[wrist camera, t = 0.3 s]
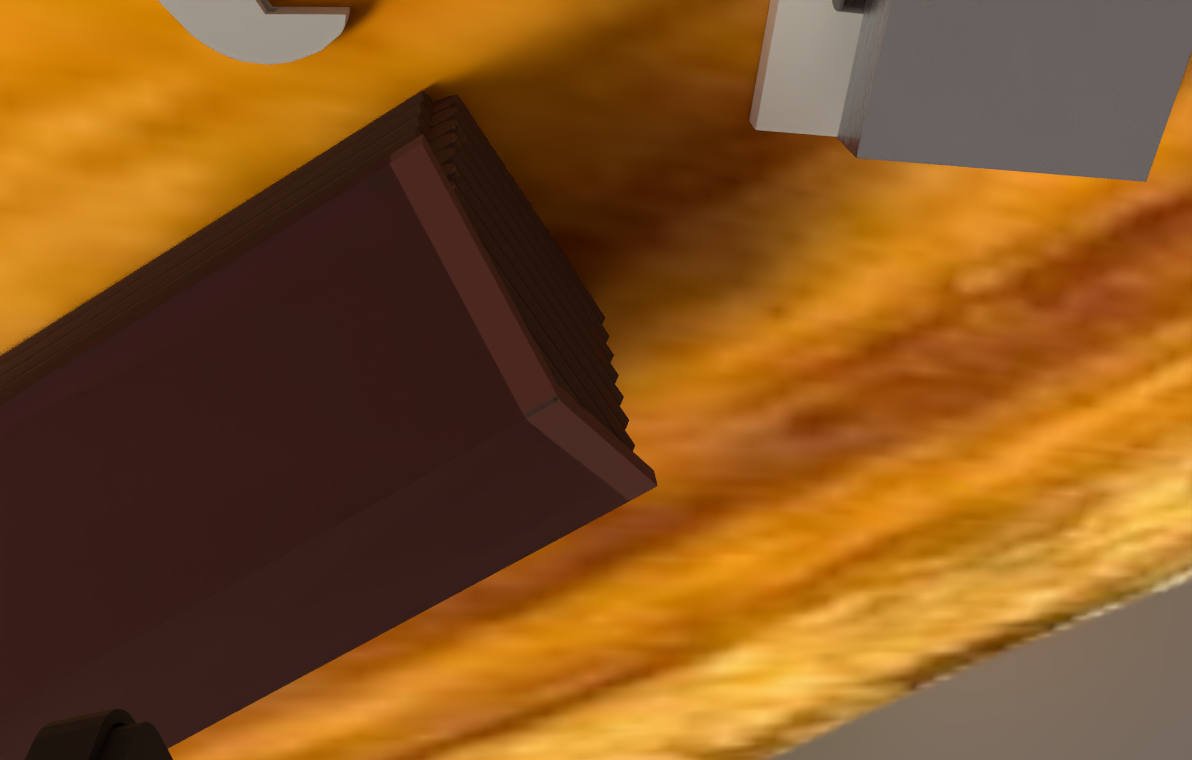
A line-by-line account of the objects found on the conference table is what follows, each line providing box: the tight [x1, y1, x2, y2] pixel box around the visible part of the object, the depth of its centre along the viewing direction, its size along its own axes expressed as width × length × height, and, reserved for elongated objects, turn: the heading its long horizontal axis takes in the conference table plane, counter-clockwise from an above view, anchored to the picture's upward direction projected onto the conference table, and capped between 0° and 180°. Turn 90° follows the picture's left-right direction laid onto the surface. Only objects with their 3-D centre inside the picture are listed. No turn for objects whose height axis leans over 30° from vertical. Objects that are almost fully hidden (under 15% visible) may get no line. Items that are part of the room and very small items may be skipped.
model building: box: [0, 90, 657, 760], centre depth 33 cm, size 21×12×15 cm, turn 120°
